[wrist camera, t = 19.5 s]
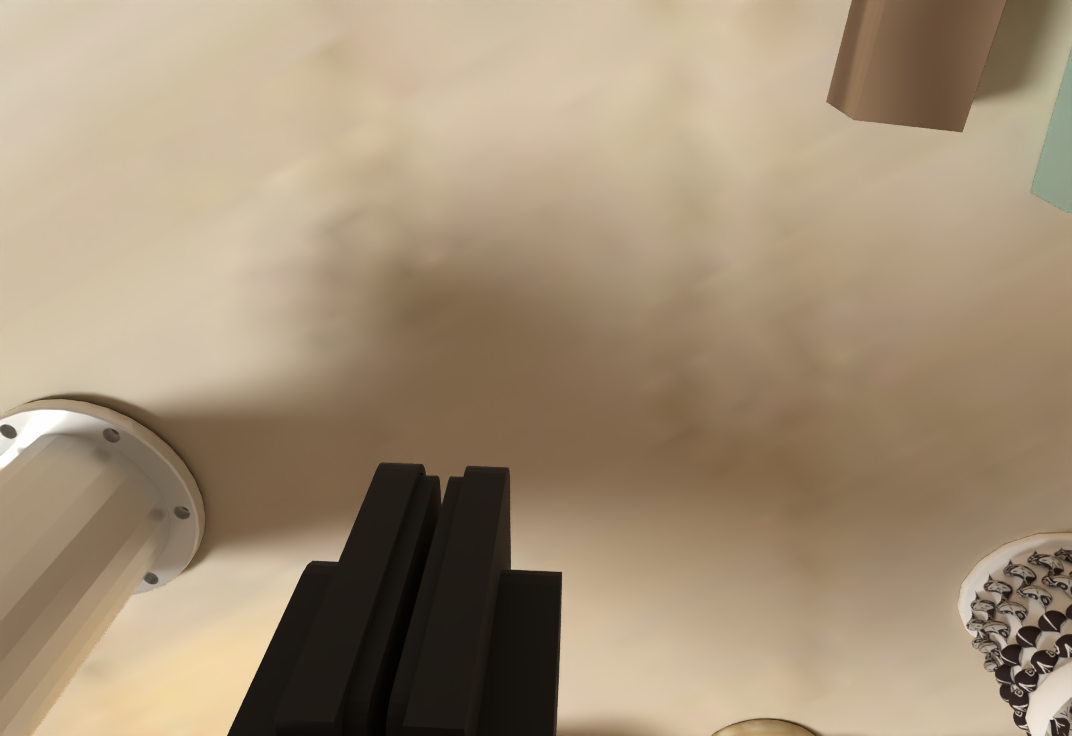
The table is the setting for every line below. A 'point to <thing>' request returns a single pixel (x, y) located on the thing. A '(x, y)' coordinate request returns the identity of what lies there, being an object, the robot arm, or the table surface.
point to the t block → (913, 60)
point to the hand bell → (763, 729)
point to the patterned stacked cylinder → (1026, 627)
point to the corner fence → (1058, 151)
